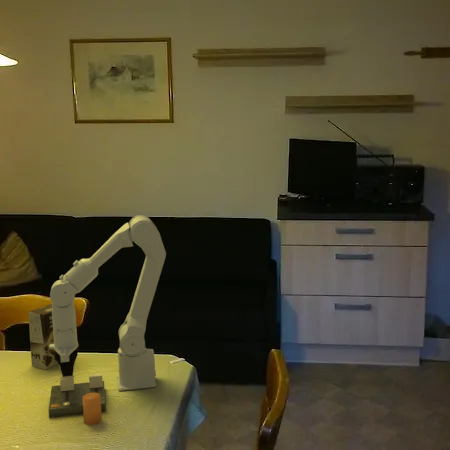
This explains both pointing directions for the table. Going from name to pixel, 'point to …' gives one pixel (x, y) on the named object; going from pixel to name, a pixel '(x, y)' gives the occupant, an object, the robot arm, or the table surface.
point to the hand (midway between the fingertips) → (67, 378)
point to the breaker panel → (72, 399)
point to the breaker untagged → (95, 380)
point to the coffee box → (42, 337)
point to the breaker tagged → (67, 383)
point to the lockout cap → (92, 408)
